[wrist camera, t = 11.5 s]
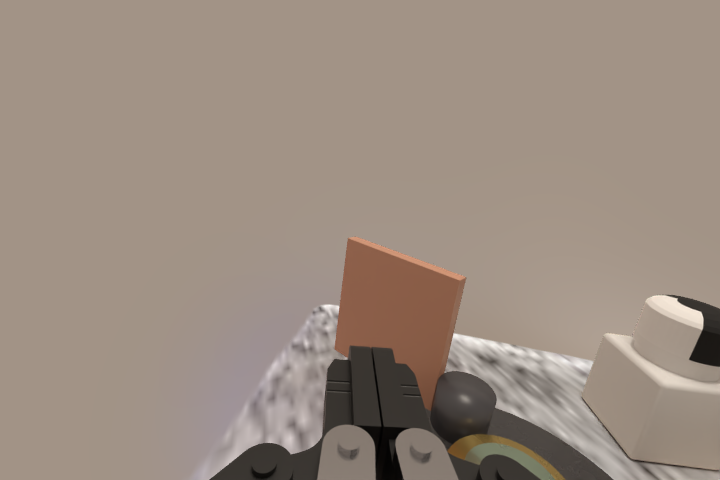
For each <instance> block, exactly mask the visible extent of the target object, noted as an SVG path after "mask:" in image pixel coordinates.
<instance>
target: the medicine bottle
mask: <svg viewBox="0 0 720 480" xmlns="http://www.w3.org/2000/svg"><path fill="white" fill-rule="evenodd" d="M632 335H633V336H625V335H618V334H610V333H607V334H605V335H604V336H603V338H602V341H601V344H600V346H599V349H598V352H597V355H596V357H595V360H594V363H593V365H592V368H591V371H590V374H589V376H588V379H587V382H586V384H585V387H584V390H583V392H582V398H583V399H584V400H585V402H586V403H587V404H588V405H589V407H590V408H591V409H592V410H593V412H594V413H595V414H596V416H597V417H598V418H599V419H600V421H601V422H602V423H603V424H604V426H605V427H606V428H607V430H608V431H609V432H610V433H611V435H612V436H613V437H614V438H615V440H616V441H617V442H618V443H619V445H620V446H621V447H622V449H623V450H624V451H625V452H626V454H627V455H628V456H629V457H630V458H631V459H633V460H641V461H649V462H657V463H664V464H672V465H680V466H688V467H696V468H703V469H711V470H719V469H720V309H719V308H716V307H714V306H711V305H709V304H706V303H703V302H700V301H697V300H693V299H689V298H685V297H681V296H675V295H655V296H652V297H650V298H648V299H647V300H646V302H645V304H644V307H643V309H642V312H641V314H640V317H639V319H638V322H637V324H636V327H635V329H634V332H633V334H632Z"/></svg>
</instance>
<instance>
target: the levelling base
mask: <svg viewBox="0 0 720 480" xmlns="http://www.w3.org/2000/svg"><path fill="white" fill-rule="evenodd" d="M425 409H426V408H425ZM426 413H427V416H428V420H429V423H430V426H431V430H432V433H433V434H434V435H435V436H437V437H438V438H439V439H440V440H441V441H442V443H443V444H444V446H445V448H446V450H447V452H448V453H450V454H452V455H453V456H455V457H458V458H460V459H463V460H466V461H469V462H472V463H475V464H478V465H480V463H481V461H482V459H483V458H485V457H486V456H488V455H492V454H499V455H504V456H507V457H509V458H512V459H513V460H515V461H517V462H518V463H520V464H521V465H522V466H524V467H525V468H526V469H528V470H529V471H530V472H532V473H533V474H534V475H536V476H537V477H538V478H540V479H541V480H613V479H612V478H611V477H610V476H609V475H608V474H606V473H605V472H604V471H603V470H602V469H600V468H599V467H598V466H597V465H595V464H594V463H593V462H592V461H590V460H589V459H588V458H587V457H585V456H584V455H582V454H581V453H580V452H578V451H577V450H575V449H574V448H572V447H571V446H570V445H568V444H567V443H565V442H564V441H562V440H560V439H559V438H557V437H555V436H554V435H552V434H551V433H549V432H547V431H545V430H543V429H542V428H540V427H538V426H536V425H534V424H532V423H530V422H528V421H526V420H524V419H522V418H519V417H517V416H515V415H513V414H510V413H507V412H505V411H502V410H499V409H496V408H494V412H493V415H492V419H491V422H490V426H489V429H488V433H487V434H476V435H470V436H466V437H463V438H461V439H459V440H458V441H456V442H455V443H454V444H451V443H449V442H447V441H446V440H444V439H443V438H442V437H441V436H439V435H438V434H437V432H436V431H435V430H434V428H433V427H432V424H431V421H430V414H431V411H430V410H428V409H426Z"/></svg>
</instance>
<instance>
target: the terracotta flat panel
mask: <svg viewBox="0 0 720 480" xmlns="http://www.w3.org/2000/svg"><path fill="white" fill-rule="evenodd" d="M465 280H466V277H464V276H462V275H459V274H456V273H453V272H451V271H448V270H445V269H443V268H440V267H437V266H435V265H432V264H429V263H426V262H424V261H421V260H418V259H415V258H413V257H410V256H407V255H405V254H402V253H399V252H396V251H394V250H391V249H388V248H386V247H383V246H380V245H377V244H375V243H372V242H369V241H367V240H364V239H361V238H358V237H352V238H348V242H347V250H346V258H345V267H344V275H343V283H342V291H341V300H340V308H339V316H338V324H337V333H336V341H335V350H337V351H338V352H340V353H341V354H343V355H344V356H346V357H347V358H348V353H349V347H350V345H351V346H366V347H370V348H371V347H381V348H392V350H393V354H394V358H395V362H396V363H401V364H407V365H408V367H409V368H410V369H411V370H412V371H413V372H414V374H415V376H416V379H417V383H418V388H419V389H420V393H421V397H422V399H423V403H424V406H425V408H426V409H428V410H430V411H431V414H430V421H431V424H432V427H433V428H434V430H435V431H436V432H437V434H438V435H439V436H441V437H442V438H443V439H444V440H446V441H447V442H449V443H451V444H454V443H455V442H456V441H458V440H459V439H461V438H463V437H466V436H470V435H476V434H487V433H488V429H489V426H490V422H491V419H492V415H493V412H494V408H495V405H496V400H497V399H496V395H495V393H494V391H493V390H492V388H491V387H490V386H489V385H488V384H487V383H486V382H484V381H483V380H481V379H480V378H478V377H476V376H474V375H471V374H468V373H465V372H458V371H452V372H447V373H444V372H445V368H446V363H447V359H448V354H449V350H450V346H451V341H452V337H453V333H454V328H455V324H456V320H457V315H458V311H459V306H460V302H461V298H462V293H463V289H464V284H465Z"/></svg>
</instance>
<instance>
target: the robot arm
mask: <svg viewBox="0 0 720 480" xmlns="http://www.w3.org/2000/svg"><path fill="white" fill-rule="evenodd" d="M210 480H541V479H540V478H538V477H537V476H536V475H534V474H533V473H532V472H530V471H529V470H528V469H526V468H525V467H524V466H522V465H521V464H520V463H518V462H517V461H515V460H513V459H512V458H509V457H507V456H504V455H499V454H492V455H488V456H486V457H485V458H483V459H482V461H481V463H480V465H478V464H475V463H472V462H469V461H466V460H463V459H460V458H458V457H455V456H453V455H452V454H450V453H448V452H447V450H446V448H445V446H444V444H443V443H442V441H441V440H440V439H439V438H438V437H437V436H435V435H434V434H433V433H432V430H431V426H430V423H429V420H428V416H427V413H426V409H425V406H424V403H423V399H422V397H421V393H420V389H419V388H418V383H417V379H416V376H415V374H414V372H413V371H412V370H411V369H410V368H409V367H408V365H407V364H401V363H396V362H395V358H394V354H393V350H392V348H381V347H371V348H370V347H366V346H351V345H350V347H349V353H348V360H338V359H334V361H333V362H332V363H331V365H330V366H329V368H328V372H327V381H326V391H325V400H324V415H323V432H322V438H321V439H320V441H319V442H318V443H317V444H316V445H315V446H313V447H312V448H310V449H308V450H306V451H303V452H299V453H296V454H292V455H291V454H290V453H289V452H288V451H287V450H286V449H285V448H284V447H282V446H280V445H277V444H273V443H263V444H258V445H256V446H253V447H251V448H249V449H248V450H246V451H245V452H244V453H242V454H241V455H240V456H239V457H237V458H236V459H235V460H234V461H232V462H231V463H230V464H229V465H227V466H226V467H225V468H224V469H222V470H221V471H220V472H219V473H217V474H216V475H215V476H213V477H212V478H211V479H210Z"/></svg>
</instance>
